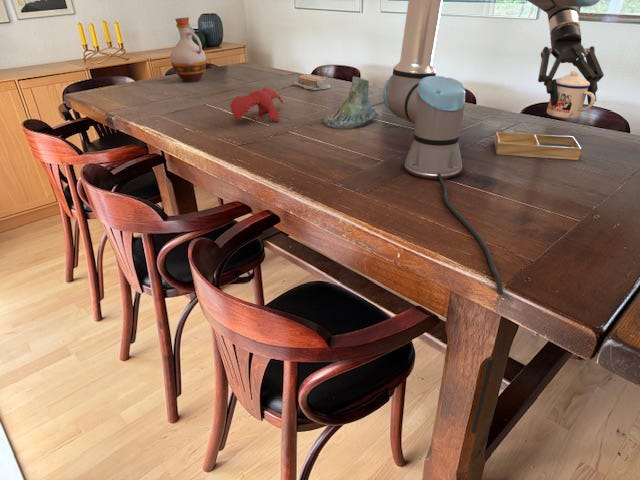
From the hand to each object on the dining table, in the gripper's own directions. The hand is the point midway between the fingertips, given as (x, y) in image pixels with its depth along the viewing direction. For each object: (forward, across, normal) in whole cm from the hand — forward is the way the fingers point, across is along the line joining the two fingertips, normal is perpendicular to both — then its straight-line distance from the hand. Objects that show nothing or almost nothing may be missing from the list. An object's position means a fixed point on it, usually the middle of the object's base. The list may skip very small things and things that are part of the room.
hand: (573, 103), depth 123 cm
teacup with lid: (+1, -1, -5) cm, 5 cm away
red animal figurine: (-17, +93, -38) cm, 102 cm away
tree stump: (-15, +60, -37) cm, 73 cm away
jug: (-69, +144, -91) cm, 184 cm away
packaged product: (-58, +80, -80) cm, 127 cm away
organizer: (+7, +5, -14) cm, 17 cm away
